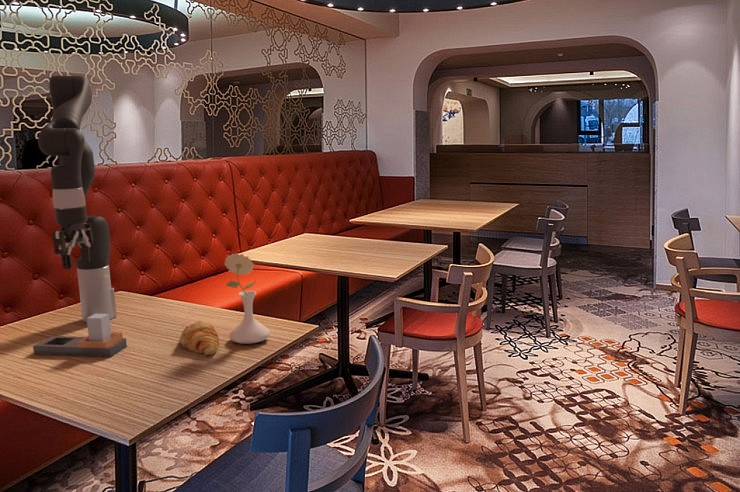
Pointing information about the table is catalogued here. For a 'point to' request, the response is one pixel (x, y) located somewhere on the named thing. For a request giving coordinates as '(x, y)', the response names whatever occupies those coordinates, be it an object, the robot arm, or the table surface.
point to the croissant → (200, 338)
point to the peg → (99, 327)
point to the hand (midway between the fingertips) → (77, 264)
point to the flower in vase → (245, 303)
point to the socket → (80, 346)
